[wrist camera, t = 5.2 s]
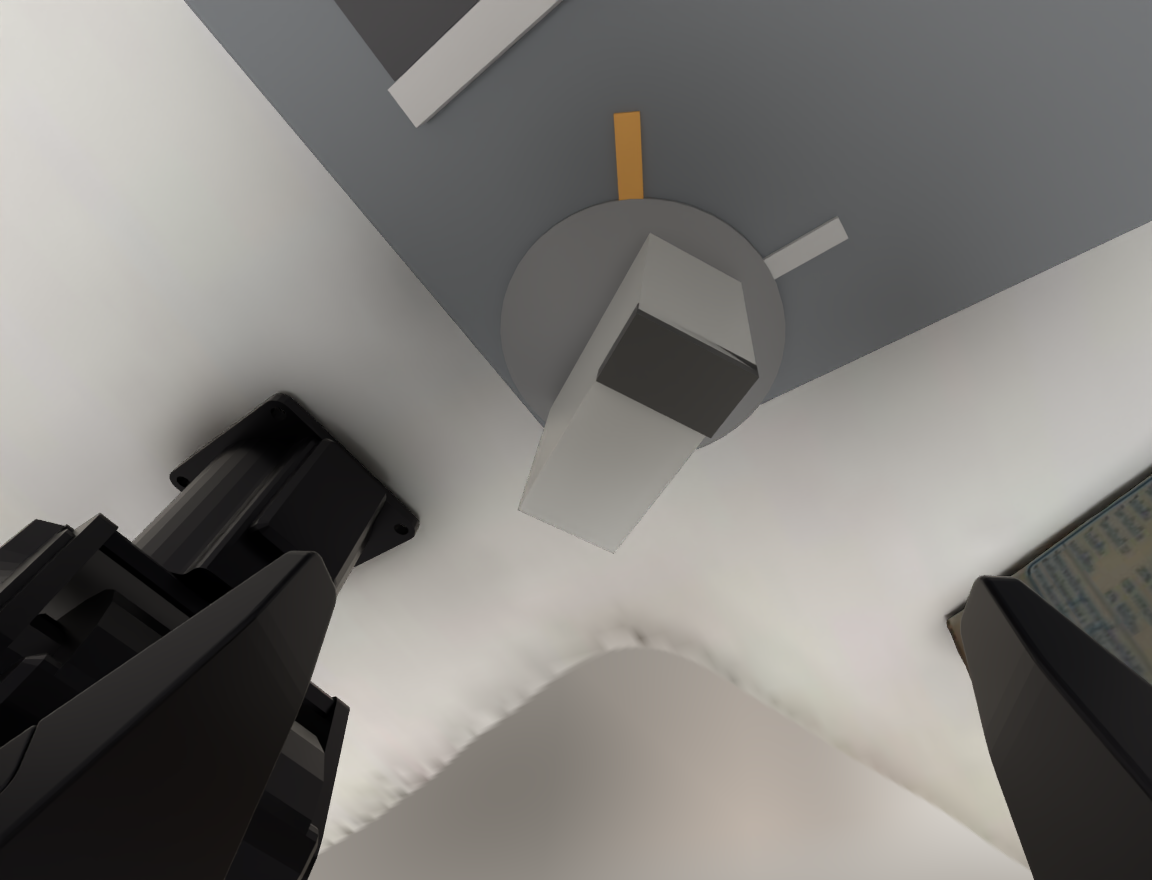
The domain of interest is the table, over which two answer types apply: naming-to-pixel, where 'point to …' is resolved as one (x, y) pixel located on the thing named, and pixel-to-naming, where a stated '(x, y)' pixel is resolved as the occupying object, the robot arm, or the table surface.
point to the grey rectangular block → (642, 395)
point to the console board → (716, 154)
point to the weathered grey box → (1101, 579)
